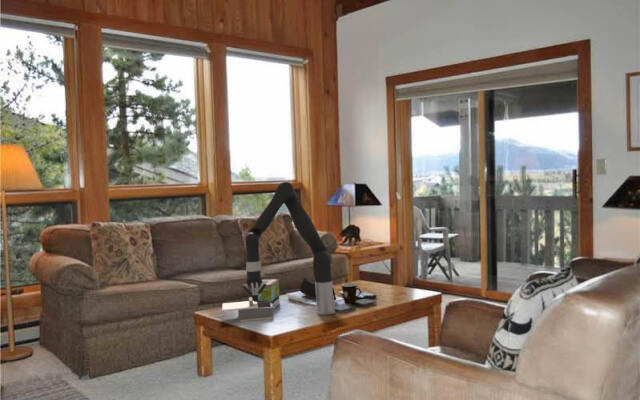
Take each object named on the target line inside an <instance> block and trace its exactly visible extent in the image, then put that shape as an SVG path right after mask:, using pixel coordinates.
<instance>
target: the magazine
mask: <svg viewBox="0 0 640 400" xmlns="http://www.w3.org/2000/svg"><path fill="white" fill-rule="evenodd" d="M299 289H300V290H299V292H300V293H301V294H303V295H304V296H305V295H306V296H305V297H308V296H309V297H308V298H310V297H313V298H316V288H315V281H311V280H309V279H308V278H307V277H305V278H303V281H302V282H301V285H300V288H299ZM333 295H334V302H335V301H336V300H337V298H336V293H335V289H334V287H333ZM313 298H312V299H313Z"/></svg>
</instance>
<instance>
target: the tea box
mask: <svg viewBox="0 0 640 400" xmlns="http://www.w3.org/2000/svg"><path fill="white" fill-rule="evenodd" d="M279 281H280V280H279V279H276V278H275V279H262V282H264V283H266V286H265V288H264V289H263V291H262V292H261V293H260V294H258V301H257V302H267V301H271V303H272V306H273V309H275V308H276V307H277V306H278V305H280V286H279V285H280V282H279ZM261 287H262V283H261V285H260V287H259V288H258V291H259V290H260V288H261Z"/></svg>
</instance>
